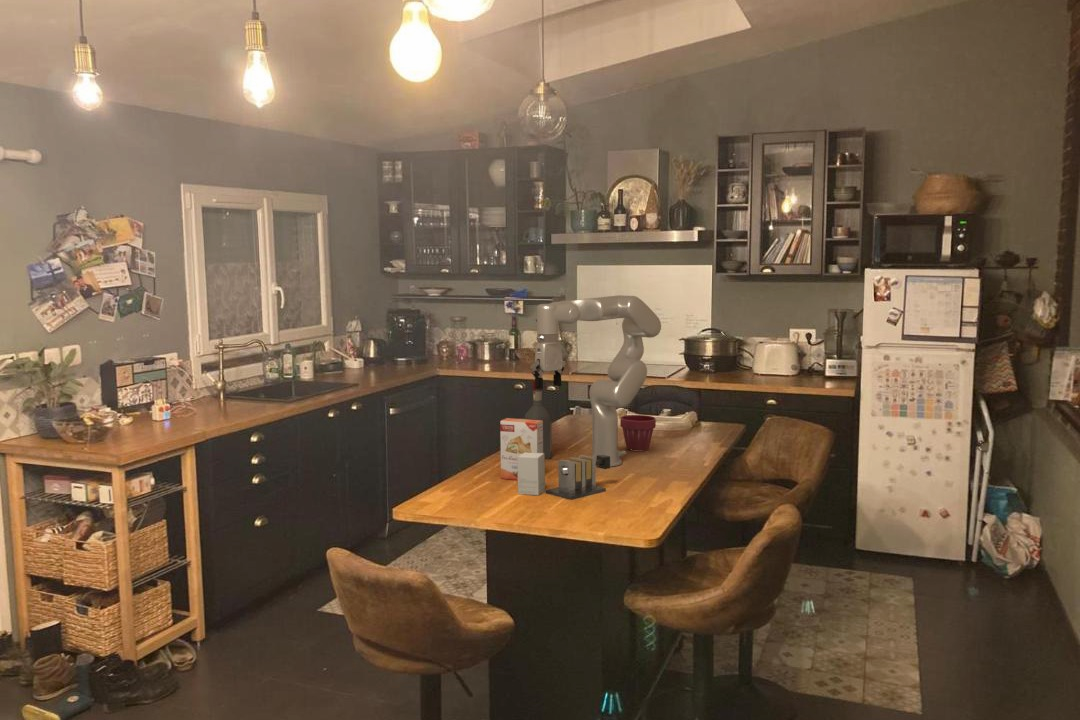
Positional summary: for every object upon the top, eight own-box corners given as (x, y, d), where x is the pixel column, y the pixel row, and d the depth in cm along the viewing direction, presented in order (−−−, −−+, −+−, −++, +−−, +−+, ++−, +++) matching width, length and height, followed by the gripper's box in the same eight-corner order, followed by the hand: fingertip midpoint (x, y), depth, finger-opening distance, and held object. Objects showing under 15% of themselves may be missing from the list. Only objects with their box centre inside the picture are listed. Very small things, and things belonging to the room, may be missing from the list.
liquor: (541, 454, 351) (540, 378, 348) (554, 458, 344) (554, 381, 340) (521, 457, 346) (521, 380, 343) (534, 461, 339) (533, 383, 335)
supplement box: (545, 490, 295) (545, 453, 294) (538, 496, 288) (538, 457, 287) (524, 488, 298) (524, 451, 296) (517, 494, 291) (516, 456, 289)
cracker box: (500, 479, 311) (499, 420, 309) (507, 475, 317) (506, 417, 315) (537, 482, 306) (536, 422, 304) (543, 478, 312) (543, 419, 309)
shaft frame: (579, 484, 302) (579, 452, 301) (605, 491, 294) (605, 458, 293) (545, 493, 292) (545, 460, 291) (571, 500, 283) (571, 465, 282)
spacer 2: (578, 475, 297) (578, 457, 297) (591, 478, 293) (591, 460, 292) (573, 476, 296) (573, 458, 295) (586, 479, 291) (586, 461, 291)
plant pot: (662, 449, 358) (663, 418, 357) (636, 454, 350) (636, 421, 349) (639, 443, 370) (639, 413, 369) (613, 448, 362) (613, 416, 361)
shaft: (601, 466, 303) (601, 454, 303) (610, 468, 300) (610, 456, 300) (558, 476, 290) (558, 464, 289) (566, 478, 287) (566, 466, 286)
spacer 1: (568, 477, 294) (568, 459, 293) (581, 480, 290) (581, 462, 289) (562, 478, 292) (562, 460, 292) (575, 482, 288) (575, 463, 287)
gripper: (539, 341, 304) (539, 391, 306) (571, 337, 317) (572, 385, 319) (523, 340, 309) (523, 389, 311) (556, 336, 322) (556, 383, 324)
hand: (548, 387), depth 315 cm, fingers open, 9 cm apart
